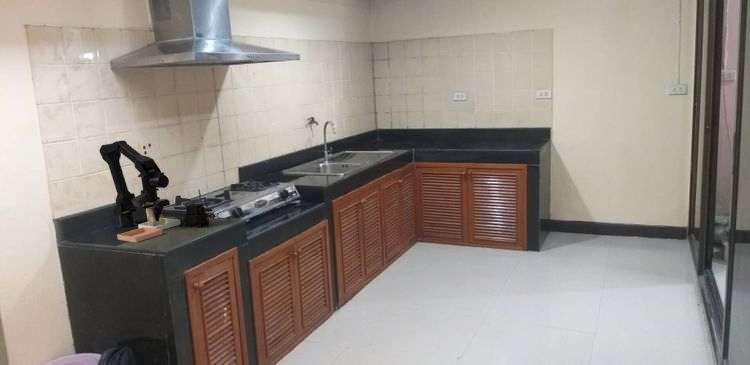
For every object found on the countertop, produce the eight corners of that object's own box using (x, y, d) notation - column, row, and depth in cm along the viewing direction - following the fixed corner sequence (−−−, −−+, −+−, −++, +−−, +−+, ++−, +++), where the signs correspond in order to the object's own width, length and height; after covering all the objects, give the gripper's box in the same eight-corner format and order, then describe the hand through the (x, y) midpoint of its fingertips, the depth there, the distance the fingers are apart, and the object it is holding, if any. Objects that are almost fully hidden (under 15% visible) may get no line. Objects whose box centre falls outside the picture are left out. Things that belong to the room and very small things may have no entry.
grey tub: (138, 230, 272) (138, 224, 272) (163, 222, 282) (162, 217, 282) (156, 232, 265) (155, 227, 264) (180, 225, 275) (179, 219, 275)
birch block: (148, 225, 270) (145, 208, 268) (156, 223, 273) (153, 206, 272) (153, 226, 268) (151, 209, 266) (161, 224, 271) (159, 207, 269)
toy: (208, 229, 263) (205, 207, 261) (183, 228, 269) (180, 206, 267) (219, 225, 270) (216, 203, 268) (194, 224, 276) (191, 203, 274)
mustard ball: (157, 225, 277) (156, 218, 276) (163, 223, 279) (162, 217, 279) (161, 225, 275) (160, 219, 274) (167, 223, 277) (166, 217, 277)
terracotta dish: (118, 240, 256) (117, 234, 256) (144, 232, 266) (143, 227, 266) (136, 243, 249) (135, 237, 248) (162, 235, 259) (161, 229, 259)
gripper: (120, 189, 266) (126, 223, 269) (146, 191, 255) (151, 227, 258) (142, 184, 275) (147, 217, 278) (168, 186, 264) (173, 220, 267)
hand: (154, 220), depth 270 cm, fingers closed on birch block, 4 cm apart
